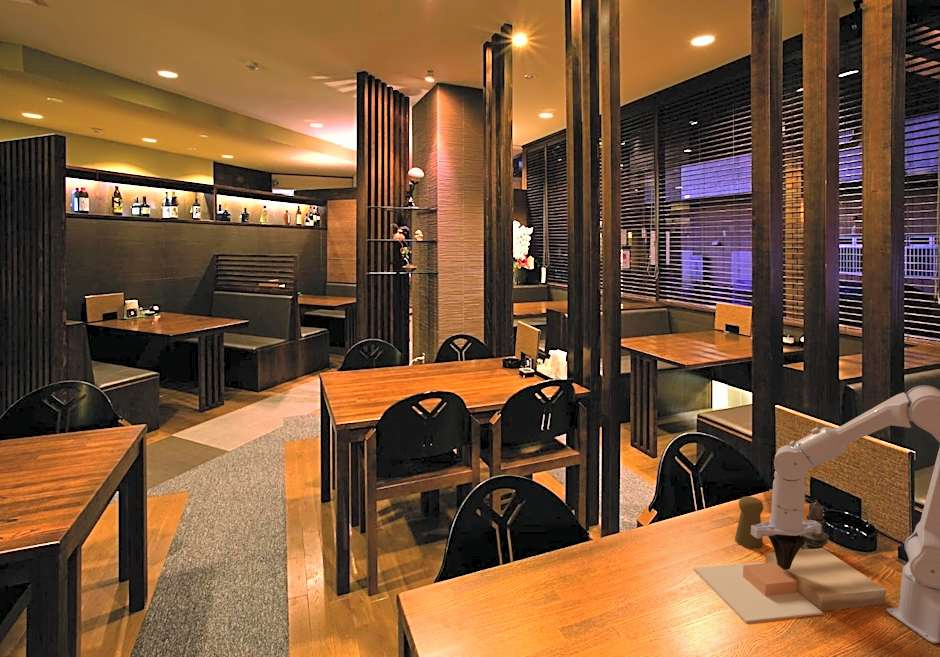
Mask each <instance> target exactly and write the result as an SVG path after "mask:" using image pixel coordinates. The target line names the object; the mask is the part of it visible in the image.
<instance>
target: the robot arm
mask: <svg viewBox="0 0 940 657" xmlns="http://www.w3.org/2000/svg"><path fill="white" fill-rule="evenodd" d="M910 422H913V423H914V424H915V425H916V426H917V427H919V428H921V429H922V430H924V431H926V432H927V433H929V434H931V435H932V437H934V438H935V440H936V441H937V442H939V444H940V389H938V388H936V387H935V386H930V385H917V386H914V387H912V388H911V389H908V391H907V392H906V393H905V392H900V393H898V394H896V395H894V396H892V397H890V398H888V399H886V400H885V401H883V402H881V403H880V404H878V405H876V406H874V407H873V408H871V409H869V410H866V411H865V412H863V413H862V414H860V415H858V416H856V417H854V418H853V419H850V420H849V421H848V422H846V423H844V424H842V425H840V426H838V427H837V428H835V427H829V426H824V427H821V428H819V427H818V426H817V427H814V428H813V429H811V433H810V434H808V435H807V436H805V437H802V438H801V439H798V440H796V441H795V440H792V441H790V442H789V445H788V444H786V445H782V446H781V447H779V448H778V449H777V450H776V453H775V454H774V460H773V468H774V470H775V471H774V473H773V477H774V479H773V482H772V495H771V497H772V498H771V510H770V511H771V512H770V516H769V520H766V521H763V522H761V523H760V524H757V525H751V535H753V536H754V537H755V538H757V539H759V538H761V537H762V538H763V537H767V538H769V541H770V542H771V545H772V548H773V549H774V550H773V551H774V552H775V555H776V559H777V565H778V566H780V567H781V568H782V569H784V570H787V569H790V567H791V564H792V562H793V559H794V557H795V555H796V554H797V552H798V551H799V550H801V549H802V548H801V547H802V546H803V545H804V544H805V539H804V538H803V537H801V534H804V533H810V532H815V533H816V534H819V533H821V524H820V523H818V522H816V521H815V520H811V521H809V520H808V519H807V520H805V519H804V512H805V499H806V497H805V496H806V485H805V477H806V475H807V474H808V471H809V470H810V469H814V468H817V467H819V466H820V465H823V464H825V463H827V462H829V461H832V460H833V459H836V458H837V457H840V456H841V455H844V454H845V453H846V451H847V447H848V444H850V443H852V442H855V441H857V440H859V439H861V438H862V439H863V438H864V437H866V436H868V435H870V434H873V433H875V432H877V431H880V430H883V429H885V428H887V427H889V426H894V427H902V428H909V429H910V428H912V426H911V425H912V424H911V423H910ZM934 463H935V464H934V467H933V471H932V476H931V480H930V482H929V486H928V490H927V494H926V498H925V502H924V504H923V506H924V507H923V510H922V512H921V517H920V520H919V522H918V523H917V524H916V525H915V529H914V531H913V533H912V534H911V535H909V536H908V537H907V538H906V539H905V541H904V550H905V553H906V555H907V558H908V561H907V563H906V564H905V565H904V566H903V567H902V570H901V571H902V574H901V583H900V592H899V605H898V606H896V607H895V606H894V607H887V608H886V610H885V612H887V613H888V614H890V615H891V616H893V617H894V618H895V619H897V620H898V621H900V622H901V623H902V624H904V625H906V627H908V628H910V629H911V630H913V631H914V632H915V633H917V634H918V635H919V636H920V637H922V638H924V639H925V640H927V642H929V643H931V644H940V446H939V448H938V452H937V456H936V460H935V462H934Z"/></svg>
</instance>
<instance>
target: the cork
mask: <svg viewBox="0 0 940 657" xmlns="http://www.w3.org/2000/svg"><path fill="white" fill-rule="evenodd" d="M738 506H739V507H738V508H739V510H740V513H739V519H738V523H737V529H736V533H735V537H734V542H735V543H736V542H737V543H739V544H740V545H739V544H738V545H739V546H741V545H742V546H741V547H743V546H744V547H743V548H746V547H747V548H746V549H752V550H757V549H761V548H763V546H764V541H763V540H764V539H763V536H762V537H761V538H759V539H757V538H755V537H754V536H753V535H751V525H757V524H760V523H762V520H761V518H762V517H761V515H762V513H763V511H764V504H763V502H762V500H760V499H759V498H757V497H754V496H743V497H741V498H740V499H739V501H738ZM737 543H736V544H737Z"/></svg>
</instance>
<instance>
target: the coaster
mask: <svg viewBox="0 0 940 657" xmlns="http://www.w3.org/2000/svg"><path fill="white" fill-rule="evenodd" d="M743 577H744V578H745V579H746V580H747V581H749V582H750V583H751V584H752V585H753V586H754V587H755V588H757V589H758V590H759V591H760V592H761V593H762V594H763V595H764V596H770V595H779V594H789V593H796V592H797V581H796V580H795V579H794V578H793V577H791V576H790V575H789V574H787V573H786V572H785V571H784V570H782V569H781V568H780V567H778V566H777V565H776V564H775V563H766V562H765V563H762V564H753V565H743Z"/></svg>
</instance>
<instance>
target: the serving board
mask: <svg viewBox="0 0 940 657" xmlns="http://www.w3.org/2000/svg"><path fill="white" fill-rule="evenodd" d="M824 548H825V547H824ZM824 548H818V549H807V550H803V549H799V551H798V552H797V554H796V555H795V557H794V559H793V562H792V564H791V567H790V569H787V570H784V569H782V568H781V567H780V566H778V565H777V559H776V555H775V551H774V552H767V553H765V563H775V564H776V565H777V566H778V567H780V568H781V569H782V570H784V571H785V572H786V573H787V574H789V575H790V576H791V577H793V578H794V579H795V580H796V581H797V592H798V593H799V594H800V595H802V596H803V597H804V598H805V599H807V600H808V601H809V602H810V603H812V604H813V605H814V606H815V607H817V608H818V609H819V610H820V611H821V612H823V611H833V610H841V609H851V608H859V607H868V606H869V607H870V606H879V605H885V604H886V593H887V589H885V588H884V587H883V586H881V585H879V584H878V583H877V582H875V581H874V580H872V579H870V578H869V577H868V576H866V575H865V574H863V573H862V572H860V571H858V570H857V569H855V568H854V567H853V566H851V565H849V564H848V563H846V562H845V561H844V560H842V559H841V558H838V557H837V556H836V555H834V554H833V553H832V552H830V551H828V550H827V549H826V548H825V549H826V550H825V549H824Z"/></svg>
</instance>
